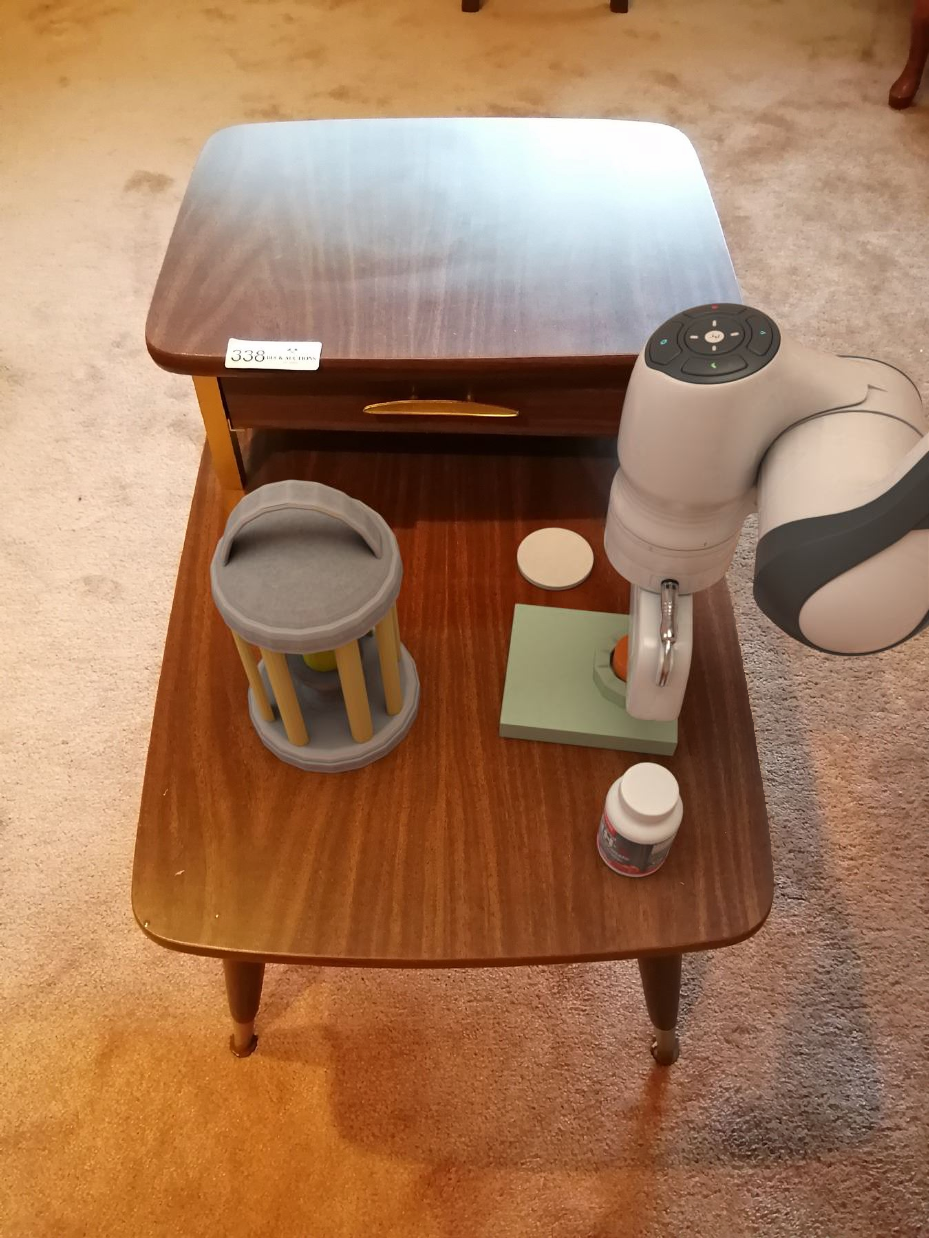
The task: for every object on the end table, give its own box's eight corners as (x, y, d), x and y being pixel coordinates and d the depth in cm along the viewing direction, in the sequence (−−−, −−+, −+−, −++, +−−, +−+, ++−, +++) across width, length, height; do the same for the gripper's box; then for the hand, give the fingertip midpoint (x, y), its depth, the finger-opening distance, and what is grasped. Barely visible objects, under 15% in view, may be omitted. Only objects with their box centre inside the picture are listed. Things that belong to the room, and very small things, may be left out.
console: (674, 634, 86) (682, 607, 83) (673, 756, 79) (681, 731, 76) (514, 618, 87) (516, 590, 84) (499, 736, 80) (500, 711, 77)
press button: (662, 647, 81) (666, 634, 79) (661, 688, 78) (665, 676, 77) (613, 642, 81) (616, 629, 80) (611, 682, 79) (613, 671, 77)
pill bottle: (581, 845, 75) (593, 788, 67) (626, 798, 77) (643, 737, 69) (637, 894, 72) (657, 840, 64) (682, 844, 74) (706, 786, 67)
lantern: (418, 623, 87) (399, 408, 66) (423, 768, 78) (403, 572, 58) (256, 632, 86) (188, 418, 66) (244, 778, 78) (162, 584, 58)
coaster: (595, 535, 93) (595, 531, 92) (590, 594, 89) (591, 590, 88) (520, 528, 93) (521, 524, 93) (513, 586, 89) (513, 582, 89)
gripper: (722, 661, 60) (685, 767, 71) (717, 429, 72) (686, 551, 83) (617, 651, 61) (598, 757, 72) (630, 422, 72) (611, 544, 84)
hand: (645, 645), depth 77 cm, fingers closed
